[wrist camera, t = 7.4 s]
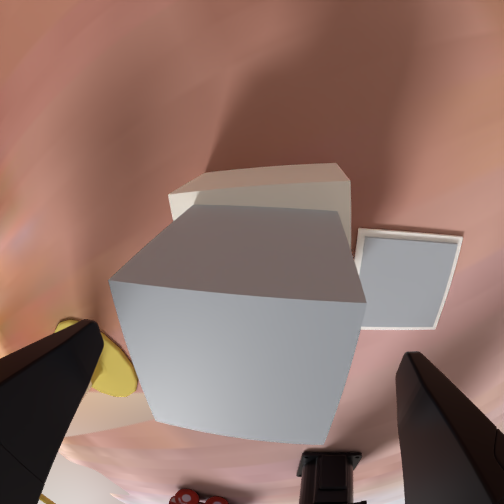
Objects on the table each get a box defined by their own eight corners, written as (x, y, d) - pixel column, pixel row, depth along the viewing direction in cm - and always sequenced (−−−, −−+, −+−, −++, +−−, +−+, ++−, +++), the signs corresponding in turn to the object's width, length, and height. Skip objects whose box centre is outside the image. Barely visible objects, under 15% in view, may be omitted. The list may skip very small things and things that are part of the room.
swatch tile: (434, 327, 18) (435, 331, 17) (342, 327, 19) (343, 330, 18) (461, 236, 15) (464, 238, 14) (358, 227, 16) (359, 230, 15)
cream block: (337, 281, 18) (346, 335, 13) (223, 284, 19) (200, 335, 14) (336, 162, 15) (350, 181, 10) (205, 172, 16) (168, 194, 12)
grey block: (337, 211, 11) (367, 302, 5) (322, 329, 13) (323, 444, 8) (193, 204, 12) (108, 280, 6) (203, 318, 14) (155, 420, 9)
